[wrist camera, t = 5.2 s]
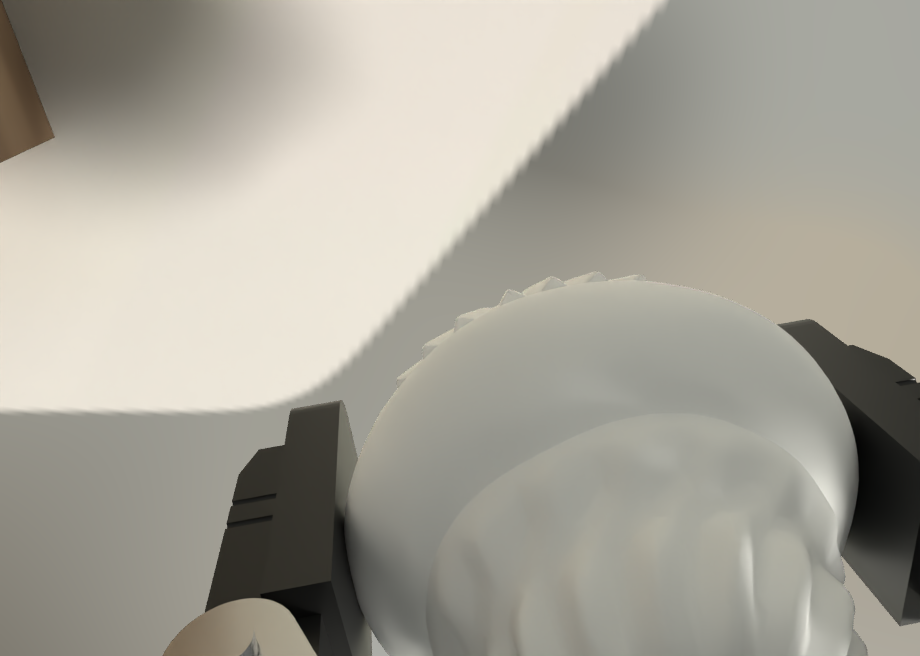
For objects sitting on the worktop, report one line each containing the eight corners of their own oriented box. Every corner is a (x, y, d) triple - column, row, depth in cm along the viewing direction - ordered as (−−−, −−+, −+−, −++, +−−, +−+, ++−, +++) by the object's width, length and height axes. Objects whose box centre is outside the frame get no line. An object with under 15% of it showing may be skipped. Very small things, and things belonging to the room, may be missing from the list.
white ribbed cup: (268, 321, 11) (145, 783, 5) (638, 113, 10) (1071, 328, 4) (462, 578, 14) (549, 1090, 7) (765, 427, 13) (1143, 850, 7)
